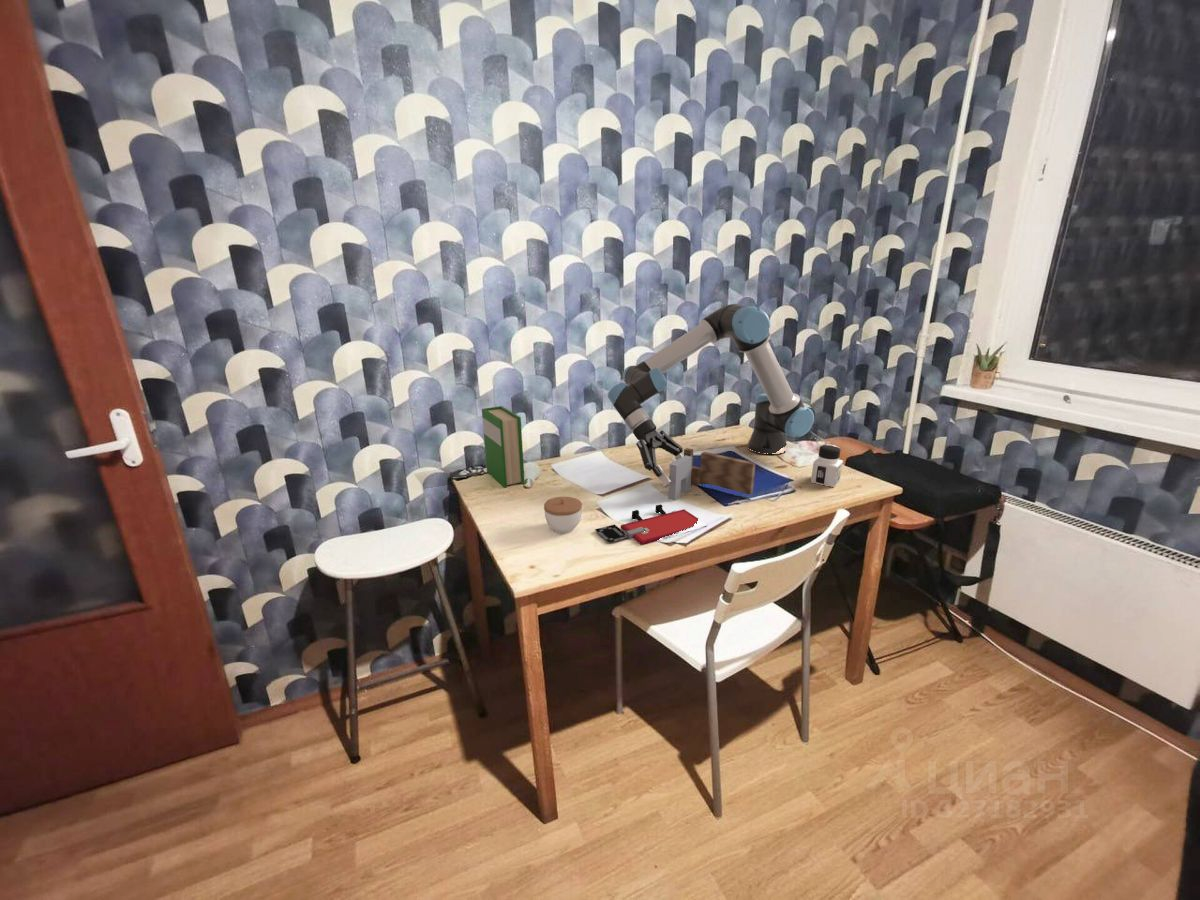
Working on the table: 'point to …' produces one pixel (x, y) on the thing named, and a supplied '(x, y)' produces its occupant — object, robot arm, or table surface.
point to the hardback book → (503, 445)
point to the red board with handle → (650, 526)
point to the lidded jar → (563, 513)
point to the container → (827, 466)
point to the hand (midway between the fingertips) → (678, 477)
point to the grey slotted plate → (680, 477)
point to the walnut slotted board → (723, 472)
